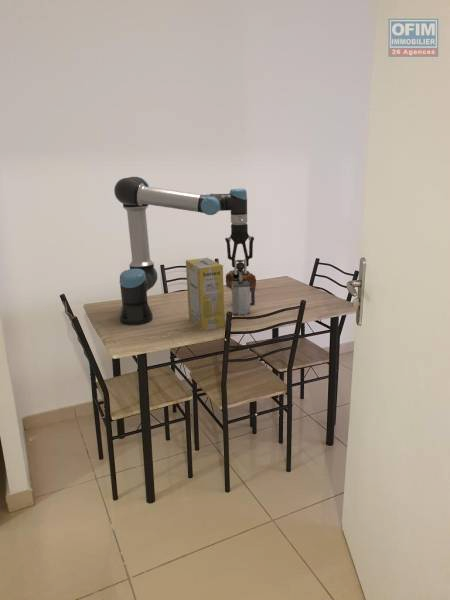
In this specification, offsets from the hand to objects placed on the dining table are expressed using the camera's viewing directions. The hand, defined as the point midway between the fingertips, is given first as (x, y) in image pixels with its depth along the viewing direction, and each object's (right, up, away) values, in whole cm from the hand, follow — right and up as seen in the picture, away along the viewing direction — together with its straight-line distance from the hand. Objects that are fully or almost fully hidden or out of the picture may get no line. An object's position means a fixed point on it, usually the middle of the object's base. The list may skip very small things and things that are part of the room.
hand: (240, 273), depth 219 cm
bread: (+2, -6, +49) cm, 50 cm away
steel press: (+2, -19, +6) cm, 20 cm away
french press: (+1, -15, +19) cm, 24 cm away
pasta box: (-16, -23, -6) cm, 28 cm away
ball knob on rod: (0, -9, +3) cm, 9 cm away
